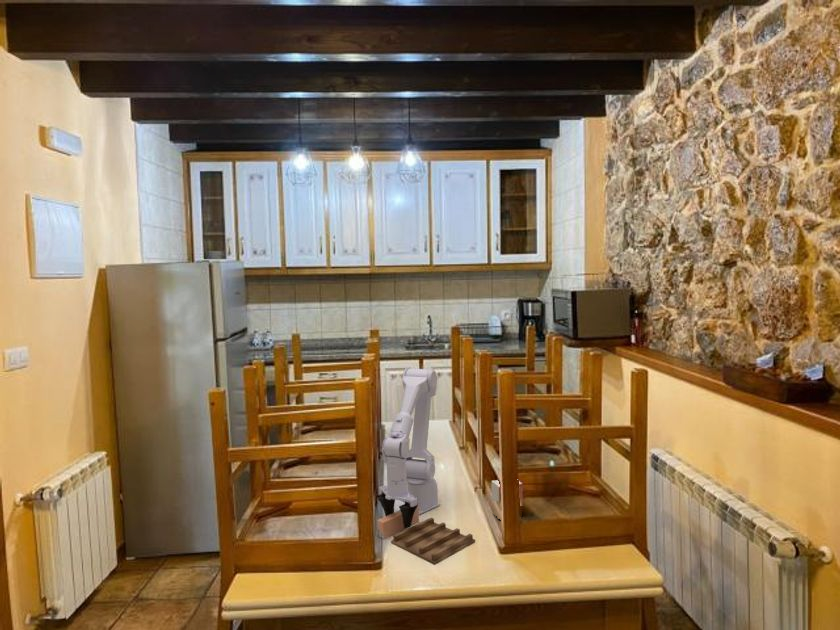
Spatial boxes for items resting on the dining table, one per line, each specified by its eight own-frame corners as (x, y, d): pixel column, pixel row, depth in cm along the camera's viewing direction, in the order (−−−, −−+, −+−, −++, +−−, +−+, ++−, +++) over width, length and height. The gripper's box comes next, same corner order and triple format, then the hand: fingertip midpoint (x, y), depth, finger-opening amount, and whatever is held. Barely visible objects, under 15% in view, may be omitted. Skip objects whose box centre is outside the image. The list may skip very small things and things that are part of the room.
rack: (431, 523, 168) (431, 516, 168) (475, 541, 156) (475, 534, 156) (391, 542, 157) (390, 535, 157) (434, 564, 145) (434, 556, 145)
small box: (498, 521, 168) (498, 487, 167) (491, 513, 173) (490, 480, 172) (523, 517, 170) (522, 483, 169) (515, 509, 175) (514, 476, 174)
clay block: (413, 520, 171) (412, 504, 171) (419, 522, 169) (418, 506, 169) (377, 537, 161) (377, 520, 161) (383, 539, 160) (382, 522, 159)
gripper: (370, 475, 166) (372, 520, 168) (403, 488, 156) (405, 535, 157) (388, 469, 171) (390, 512, 172) (421, 481, 161) (423, 527, 162)
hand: (398, 523), depth 165 cm, fingers open, 7 cm apart
